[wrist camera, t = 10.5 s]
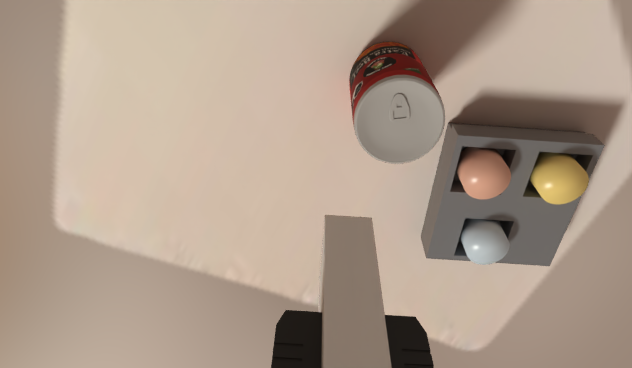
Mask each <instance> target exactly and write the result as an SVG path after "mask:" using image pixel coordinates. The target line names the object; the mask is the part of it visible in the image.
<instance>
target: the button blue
mask: <svg viewBox="0 0 632 368" xmlns="http://www.w3.org/2000/svg"><path fill="white" fill-rule="evenodd" d="M460 239H461V241H462V244H463V246H464V249H465V252H466V254H467V257H468V258H469V259H470V260H471V261H472V262H474V263H477V264H482V265H486V264H492V263H495V262H497V261H499V260H501V259H502V258H503V257H504V256H505V255H506V254H507V253H508V251H509V247H510V244H509V241H508V239H507V237H506V235H505V233H504V231H503V229H502V227H501V225H500V223H499V221H498V220H487V219H472V218H467V219H465V221H464V224H463V227H462V231H461V234H460Z"/></svg>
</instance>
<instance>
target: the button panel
mask: <svg viewBox="0 0 632 368" xmlns="http://www.w3.org/2000/svg"><path fill="white" fill-rule="evenodd" d="M604 146H605V145H604V144H603V143H602V142H600V141H599V140H598V139H597V138H596V137H595V136H594V135H593V134H586V133H584V132H572V131H558V130H543V129H529V128H515V127H500V126H486V125H471V124H457V123H448V126H447V130H446V134H445V138H444V143H443V147H442V151H441V155H440V159H439V163H438V167H437V172H436V176H435V180H434V184H433V188H432V192H431V196H430V201H429V205H428V209H427V213H426V217H425V221H424V225H423V230H422V234H421V240H422V244H423V248H424V251H425V255H426V258H431V259H447V260H462V261H471V260H470V259H469V258H468V257H467V254H466V252H465V249H464V246H463V244H462V241H461V239H460V234H461V231H462V227H463V224H464V221H465V219H467V218H472V219H487V220H498V221H499V223H500V225H501V227H502V229H503V231H504V233H505V235H506V237H507V239H508V241H509V244H510V247H509V251H508V253H507V254H506V255H505V256H504V257H503V258H502V259H501V260H499V261H497V262H495V263H509V264H525V265H540V266H550V264H551V262H552V260H553V258H554V255H555V253H556V251H557V249H558V247H559V244H560V242H561V240H562V238H563V236H564V233H565V231H566V229H567V227H568V225H569V222H570V220H571V218H572V216H573V214H574V211H575V209H576V207H577V205H578V203H579V201H580V198H581V196H582V195H581V196H579V197H578V198H577V199H575V200H573V201H571V202H569V203H565V204H551V203H548V202H546V201H545V200H544V199H543V198H542V197H541V195H540V194H539V193H538V191H537V190H536V188H535V187H534V185H533V184H532V182H531V181H530V180H529V178H530V175H531V173H532V170H533V167H534V165H535V162H536V159H537V157H538V154H540V153H542V152H553V153H568V154H570V155H571V156H572V157H573V158H574V159H575V160H576V161H577V162H578V163H579V164H580V166H581V167H582V168H583V169H584V170H585V171H586V172H587V174H588V178H589V179H590V176H591V174H592V172H593V170H594V168H595V165H596V163H597V161H598V159H599V157H600V154H601V152H602V150H603V148H604ZM467 147H480V148H495V149H496V150H497V151H498V152H499V154H500V155H501V157H502V158H503V160H504V162H505V163H506V165H507V166H508V168H509V169H510V172H511V180H510V183H509V185H508V187H507V188H506V189H505V190H504V191H503V192H502V193H501V194H499V195H498V196H496V197H493V198H490V199H476V198H473V197H471V196H469V195H468V194H467V193H466V191H465V190H464V187H463V185H462V183H461V181H460V179H459V176H458V174H457V172H456V167H457V164H458V160H459V156H460V153H461V152H462V151H463V150H464V149H466V148H467Z"/></svg>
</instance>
